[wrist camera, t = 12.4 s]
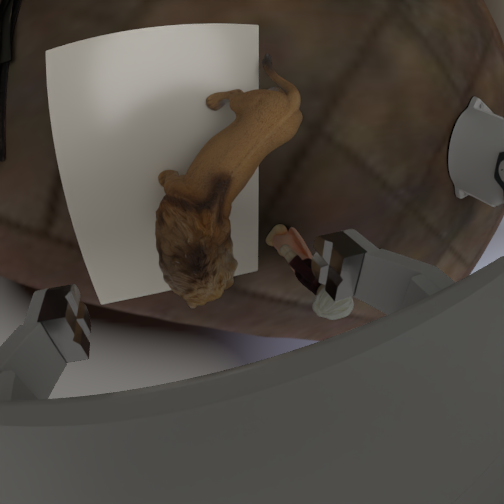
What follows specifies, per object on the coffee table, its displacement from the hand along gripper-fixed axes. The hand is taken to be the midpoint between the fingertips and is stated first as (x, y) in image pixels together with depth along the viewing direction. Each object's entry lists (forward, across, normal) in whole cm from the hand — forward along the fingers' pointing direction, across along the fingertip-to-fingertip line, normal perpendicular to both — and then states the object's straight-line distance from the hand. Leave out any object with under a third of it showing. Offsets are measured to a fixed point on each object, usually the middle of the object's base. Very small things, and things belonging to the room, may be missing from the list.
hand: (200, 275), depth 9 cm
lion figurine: (+12, +3, +1) cm, 13 cm away
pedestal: (+18, -1, 0) cm, 18 cm away
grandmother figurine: (+18, +11, -11) cm, 24 cm away
